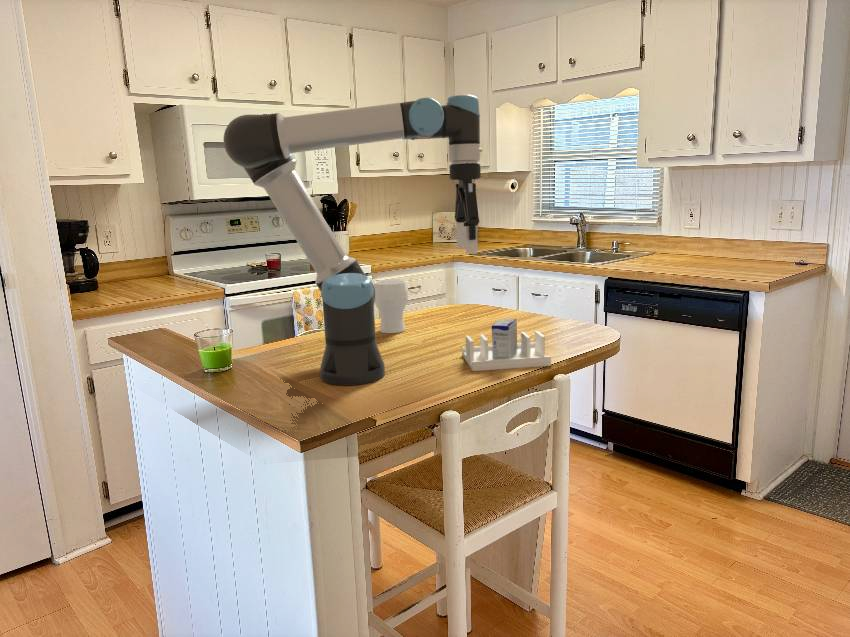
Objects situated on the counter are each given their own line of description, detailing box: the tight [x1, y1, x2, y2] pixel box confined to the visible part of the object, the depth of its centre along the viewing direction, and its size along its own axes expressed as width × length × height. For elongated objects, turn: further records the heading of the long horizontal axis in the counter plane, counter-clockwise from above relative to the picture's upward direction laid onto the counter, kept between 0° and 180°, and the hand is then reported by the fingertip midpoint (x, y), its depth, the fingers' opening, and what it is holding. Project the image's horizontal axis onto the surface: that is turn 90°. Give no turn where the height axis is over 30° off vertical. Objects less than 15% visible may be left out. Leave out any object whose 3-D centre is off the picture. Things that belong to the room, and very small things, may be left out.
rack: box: [461, 330, 552, 372], centre depth 157 cm, size 19×14×6 cm
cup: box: [373, 278, 409, 334], centre depth 191 cm, size 11×11×15 cm
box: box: [491, 318, 518, 359], centre depth 156 cm, size 8×4×9 cm, turn 159°
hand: (466, 250), depth 159 cm, fingers open, 13 cm apart
